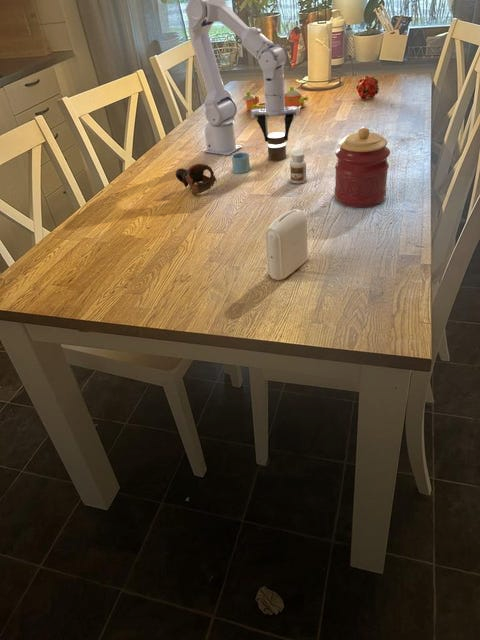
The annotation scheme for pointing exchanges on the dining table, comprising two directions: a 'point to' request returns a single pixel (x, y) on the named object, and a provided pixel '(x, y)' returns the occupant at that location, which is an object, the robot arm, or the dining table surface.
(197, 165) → the pottery mug
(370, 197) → the kitchen canister
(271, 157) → the base chip
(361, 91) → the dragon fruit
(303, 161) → the pill bottle
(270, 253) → the photo printer
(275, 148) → the middle chip
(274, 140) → the top chip
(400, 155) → the dining table surface
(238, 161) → the cup
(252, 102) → the toy tea set
